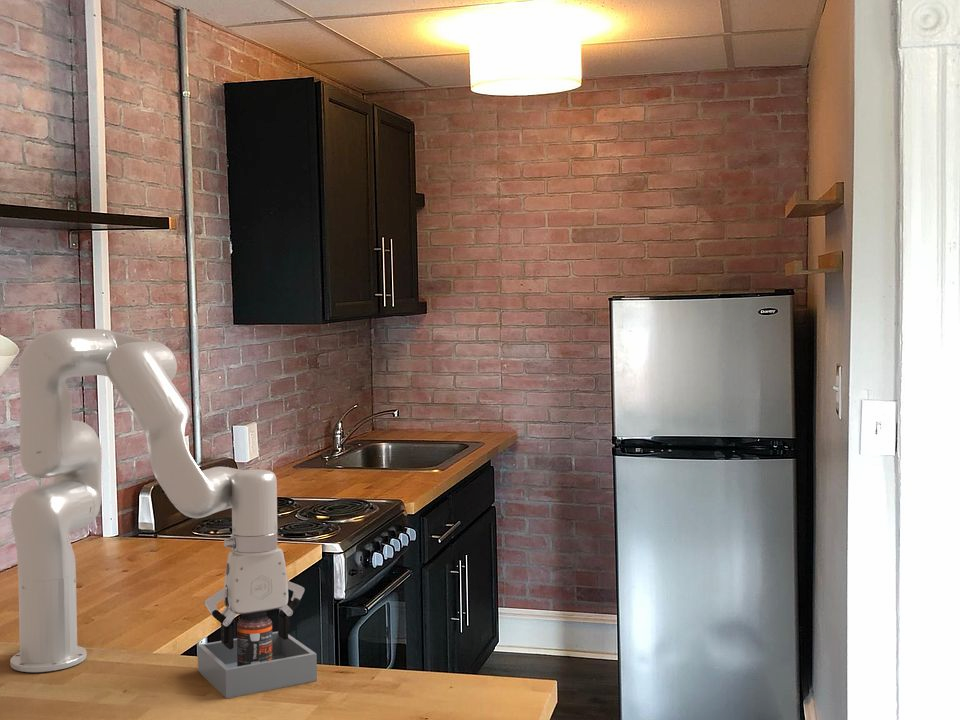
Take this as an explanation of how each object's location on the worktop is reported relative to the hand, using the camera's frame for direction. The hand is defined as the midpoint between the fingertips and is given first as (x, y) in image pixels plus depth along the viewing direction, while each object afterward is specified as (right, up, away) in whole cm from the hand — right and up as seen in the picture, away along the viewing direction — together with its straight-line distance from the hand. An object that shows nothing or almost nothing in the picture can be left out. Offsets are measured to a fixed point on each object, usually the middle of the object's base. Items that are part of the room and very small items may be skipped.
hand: (256, 642), depth 177 cm
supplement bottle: (0, -5, 0) cm, 5 cm away
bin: (0, -6, 0) cm, 6 cm away
